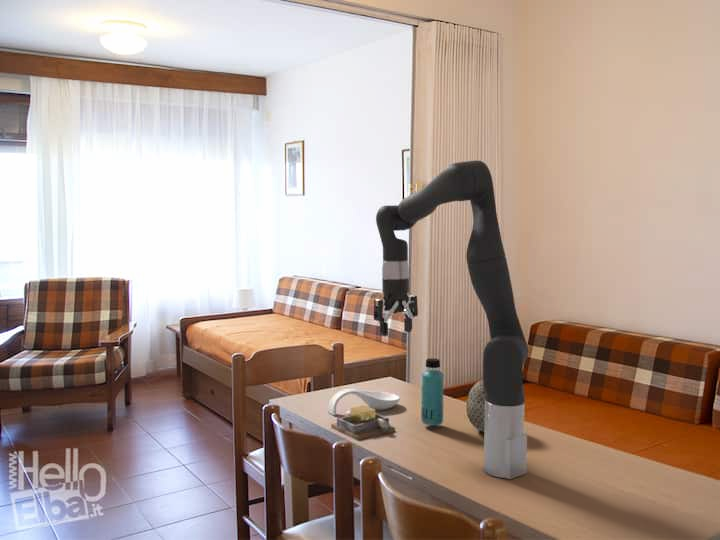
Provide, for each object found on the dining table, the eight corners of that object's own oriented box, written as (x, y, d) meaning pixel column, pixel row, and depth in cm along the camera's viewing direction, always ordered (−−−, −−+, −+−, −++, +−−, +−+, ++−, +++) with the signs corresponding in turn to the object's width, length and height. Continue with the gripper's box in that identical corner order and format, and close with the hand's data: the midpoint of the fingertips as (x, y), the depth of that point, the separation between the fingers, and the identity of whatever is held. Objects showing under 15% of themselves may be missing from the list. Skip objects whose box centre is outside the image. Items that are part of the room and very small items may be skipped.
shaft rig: (397, 432, 186) (397, 419, 186) (360, 441, 179) (360, 428, 178) (365, 418, 199) (365, 406, 198) (329, 426, 191) (329, 414, 191)
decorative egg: (470, 438, 181) (471, 385, 180) (462, 425, 193) (463, 374, 191) (512, 438, 181) (514, 385, 180) (502, 424, 193) (503, 374, 192)
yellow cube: (375, 426, 188) (375, 409, 187) (361, 429, 185) (361, 412, 185) (364, 421, 192) (364, 405, 192) (350, 425, 189) (350, 408, 189)
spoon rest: (388, 400, 218) (388, 379, 218) (406, 410, 208) (406, 387, 207) (322, 410, 207) (322, 387, 207) (338, 420, 197) (338, 397, 196)
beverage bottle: (443, 423, 194) (444, 356, 192) (443, 431, 187) (444, 361, 185) (420, 422, 194) (421, 356, 193) (420, 430, 188) (421, 361, 186)
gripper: (406, 274, 192) (406, 329, 194) (367, 277, 184) (368, 335, 185) (423, 275, 186) (424, 332, 188) (384, 279, 178) (385, 338, 179)
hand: (396, 333), depth 187 cm, fingers open, 8 cm apart
